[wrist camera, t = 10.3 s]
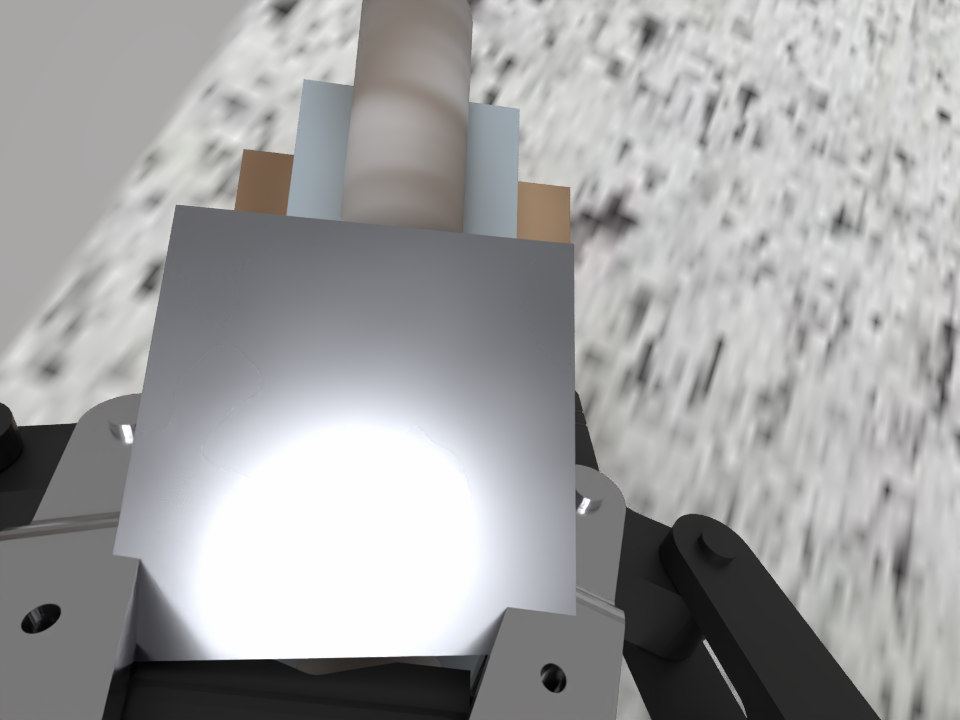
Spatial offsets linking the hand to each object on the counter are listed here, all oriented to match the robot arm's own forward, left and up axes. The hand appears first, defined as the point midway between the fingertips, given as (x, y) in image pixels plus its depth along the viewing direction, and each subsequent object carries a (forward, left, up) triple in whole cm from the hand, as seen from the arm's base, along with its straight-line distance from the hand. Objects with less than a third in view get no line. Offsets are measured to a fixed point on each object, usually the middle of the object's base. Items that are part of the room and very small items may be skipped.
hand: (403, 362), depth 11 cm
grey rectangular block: (0, +2, -4) cm, 5 cm away
